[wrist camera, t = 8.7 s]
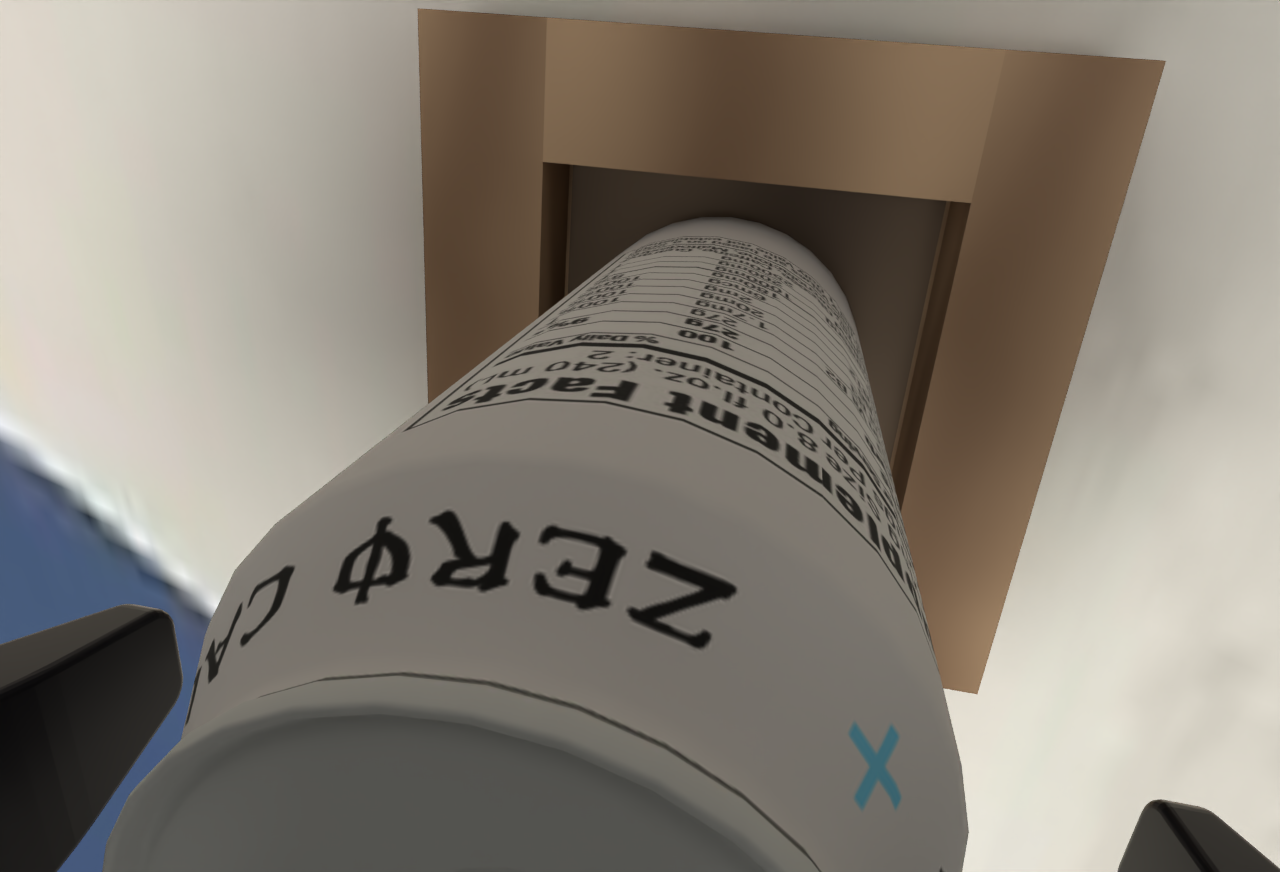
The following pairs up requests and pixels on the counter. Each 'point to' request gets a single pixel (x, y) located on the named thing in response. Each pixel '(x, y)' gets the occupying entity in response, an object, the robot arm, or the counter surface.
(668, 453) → the energy drink can
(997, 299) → the socket block
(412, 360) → the counter surface
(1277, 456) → the counter surface
